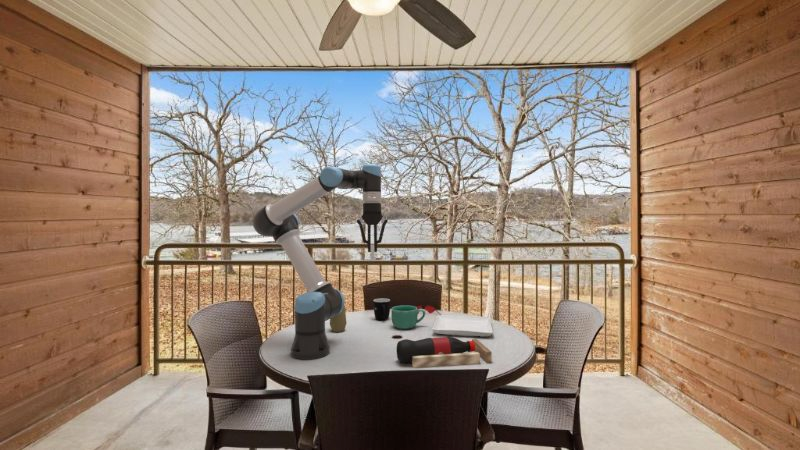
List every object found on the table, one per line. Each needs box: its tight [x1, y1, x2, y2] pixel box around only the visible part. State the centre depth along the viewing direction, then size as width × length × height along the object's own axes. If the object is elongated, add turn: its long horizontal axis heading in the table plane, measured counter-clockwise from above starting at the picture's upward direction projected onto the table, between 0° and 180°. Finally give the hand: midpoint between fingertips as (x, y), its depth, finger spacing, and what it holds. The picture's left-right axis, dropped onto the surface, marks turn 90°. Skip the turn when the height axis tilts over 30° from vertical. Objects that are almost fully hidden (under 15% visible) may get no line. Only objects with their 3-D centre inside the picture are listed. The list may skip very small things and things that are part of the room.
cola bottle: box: [396, 335, 475, 364], centre depth 152 cm, size 8×8×30 cm
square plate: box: [431, 314, 494, 338], centre depth 193 cm, size 27×27×4 cm
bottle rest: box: [411, 338, 493, 369], centre depth 155 cm, size 30×16×4 cm, turn 99°
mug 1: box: [372, 297, 391, 322], centre depth 211 cm, size 12×9×10 cm
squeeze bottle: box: [329, 305, 348, 333], centre depth 192 cm, size 8×8×18 cm
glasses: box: [414, 304, 442, 315], centre depth 217 cm, size 14×16×5 cm
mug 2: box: [390, 304, 426, 330], centre depth 197 cm, size 17×13×10 cm
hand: (372, 260), depth 165 cm, fingers closed
